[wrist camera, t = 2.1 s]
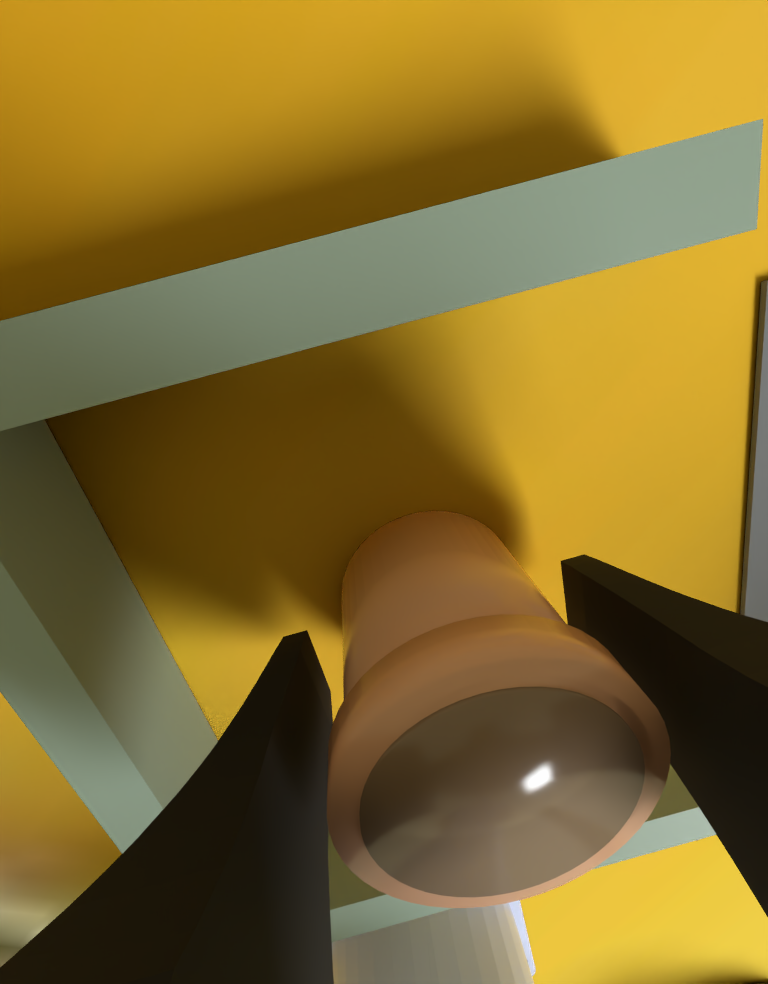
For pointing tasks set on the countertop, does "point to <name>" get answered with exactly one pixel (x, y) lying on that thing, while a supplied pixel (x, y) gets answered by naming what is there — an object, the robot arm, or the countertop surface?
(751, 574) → the rubber mat
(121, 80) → the countertop surface
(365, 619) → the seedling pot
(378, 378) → the countertop surface
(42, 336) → the green u-shaped frame
